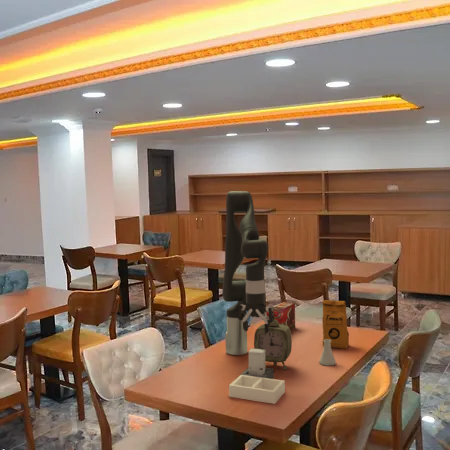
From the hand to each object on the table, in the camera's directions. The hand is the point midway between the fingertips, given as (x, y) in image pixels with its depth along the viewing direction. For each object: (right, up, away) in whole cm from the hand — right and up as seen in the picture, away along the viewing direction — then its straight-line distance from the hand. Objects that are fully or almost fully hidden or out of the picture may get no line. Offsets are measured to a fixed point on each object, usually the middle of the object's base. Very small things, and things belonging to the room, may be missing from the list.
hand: (256, 331), depth 209 cm
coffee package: (+40, -15, +42) cm, 60 cm away
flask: (+32, -18, +19) cm, 41 cm away
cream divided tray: (0, -21, -12) cm, 24 cm away
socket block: (0, -20, +2) cm, 20 cm away
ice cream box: (+17, -14, +69) cm, 72 cm away
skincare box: (0, -20, +2) cm, 20 cm away
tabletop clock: (+8, -18, +17) cm, 26 cm away
